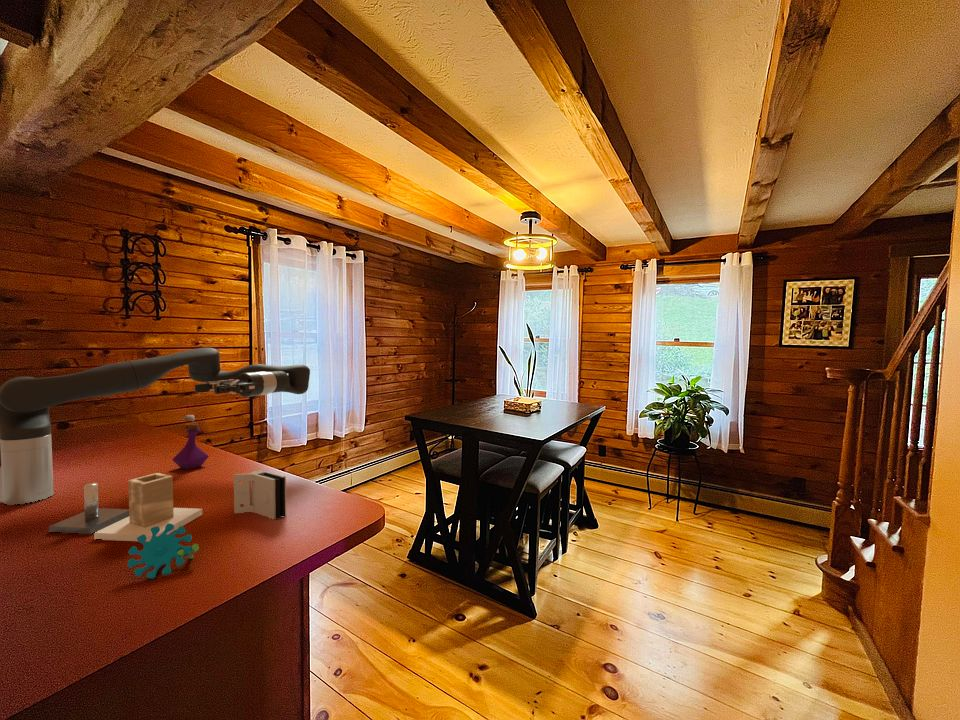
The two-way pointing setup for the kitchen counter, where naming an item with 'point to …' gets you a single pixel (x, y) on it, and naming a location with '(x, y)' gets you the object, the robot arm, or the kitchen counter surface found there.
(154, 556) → the gear
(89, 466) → the kitchen counter surface
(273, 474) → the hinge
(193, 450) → the perfume bottle
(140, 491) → the sleeve
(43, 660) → the kitchen counter surface
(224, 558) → the kitchen counter surface
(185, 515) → the board
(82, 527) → the stand
